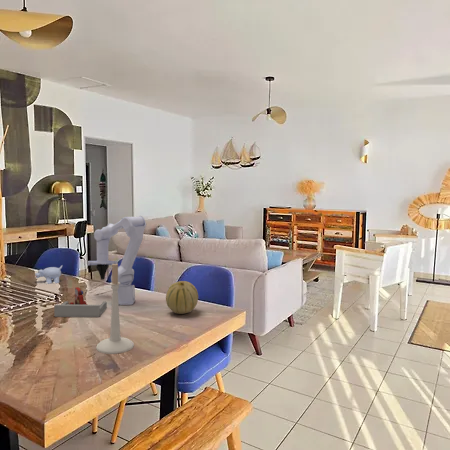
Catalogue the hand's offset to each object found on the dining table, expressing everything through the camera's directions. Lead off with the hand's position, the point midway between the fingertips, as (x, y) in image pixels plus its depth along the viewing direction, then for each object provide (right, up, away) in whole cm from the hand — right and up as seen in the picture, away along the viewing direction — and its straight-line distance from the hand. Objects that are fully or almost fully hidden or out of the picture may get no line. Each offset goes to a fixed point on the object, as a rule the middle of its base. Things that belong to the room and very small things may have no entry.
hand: (102, 279), depth 209 cm
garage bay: (-2, -12, -25) cm, 28 cm away
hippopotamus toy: (-41, -6, +33) cm, 53 cm away
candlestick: (+24, -16, -64) cm, 70 cm away
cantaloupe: (+43, -13, -23) cm, 50 cm away
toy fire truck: (-3, -12, -25) cm, 28 cm away
